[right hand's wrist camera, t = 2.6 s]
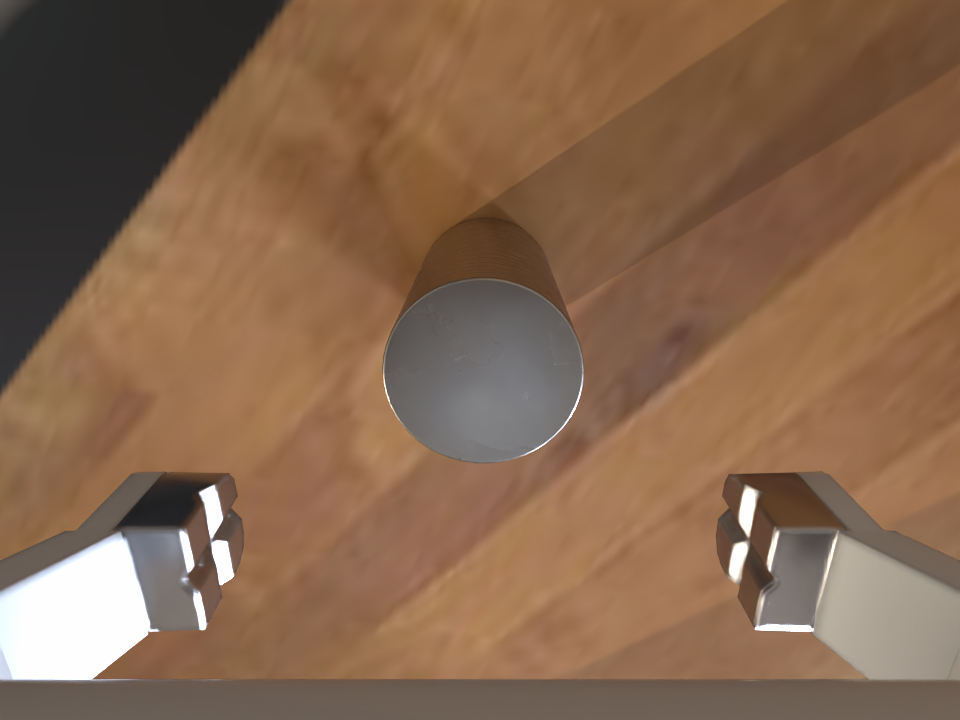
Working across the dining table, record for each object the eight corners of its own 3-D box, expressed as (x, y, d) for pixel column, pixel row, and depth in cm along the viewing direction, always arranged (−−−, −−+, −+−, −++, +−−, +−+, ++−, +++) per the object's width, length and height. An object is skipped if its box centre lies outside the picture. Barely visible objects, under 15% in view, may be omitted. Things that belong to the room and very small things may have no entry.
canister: (571, 313, 25) (614, 419, 16) (456, 363, 26) (438, 491, 17) (518, 194, 23) (534, 241, 15) (398, 253, 24) (344, 331, 15)
